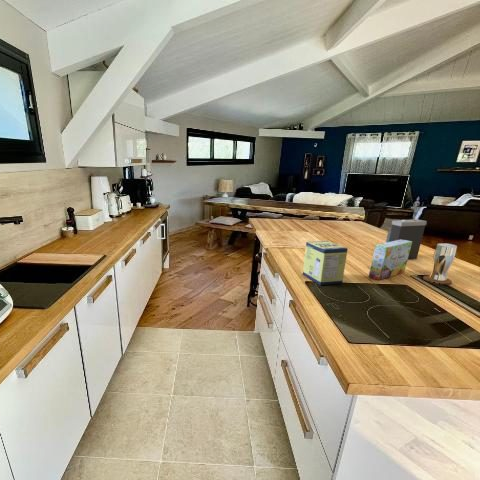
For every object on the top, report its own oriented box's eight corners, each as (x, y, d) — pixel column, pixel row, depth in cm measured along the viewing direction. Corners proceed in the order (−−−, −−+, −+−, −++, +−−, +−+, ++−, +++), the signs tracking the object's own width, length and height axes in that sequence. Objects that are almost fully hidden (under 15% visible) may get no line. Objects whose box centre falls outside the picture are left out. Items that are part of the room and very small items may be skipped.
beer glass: (424, 276, 138) (433, 242, 133) (442, 277, 137) (451, 243, 132) (432, 281, 132) (441, 246, 127) (451, 282, 131) (461, 247, 125)
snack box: (380, 281, 135) (387, 247, 130) (367, 277, 140) (374, 244, 134) (405, 272, 146) (413, 240, 140) (393, 269, 150) (399, 238, 145)
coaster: (436, 276, 140) (437, 274, 140) (457, 283, 131) (458, 282, 131) (417, 277, 139) (417, 276, 138) (437, 285, 129) (437, 283, 129)
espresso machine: (417, 259, 167) (427, 220, 159) (393, 260, 165) (402, 221, 157) (403, 254, 175) (412, 217, 168) (380, 256, 173) (388, 218, 166)
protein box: (322, 273, 147) (326, 240, 141) (342, 284, 132) (348, 248, 127) (301, 274, 145) (305, 241, 140) (320, 285, 131) (325, 249, 125)
